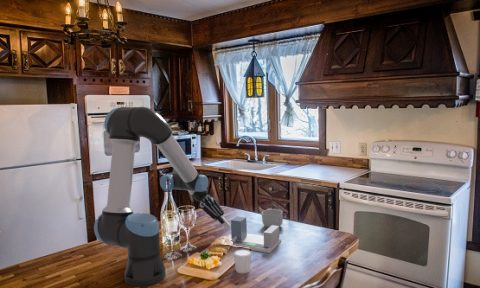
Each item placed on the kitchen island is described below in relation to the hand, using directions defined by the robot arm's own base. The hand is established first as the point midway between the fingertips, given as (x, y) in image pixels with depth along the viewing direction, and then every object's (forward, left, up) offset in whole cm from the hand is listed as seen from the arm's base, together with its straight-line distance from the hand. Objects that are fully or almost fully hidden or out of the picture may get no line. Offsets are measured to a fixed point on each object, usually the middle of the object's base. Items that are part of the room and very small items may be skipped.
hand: (229, 227), depth 174 cm
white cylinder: (-33, -1, -6) cm, 33 cm away
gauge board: (-7, -9, -6) cm, 13 cm away
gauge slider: (-5, -3, -4) cm, 7 cm away
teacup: (+14, -24, -6) cm, 29 cm away
